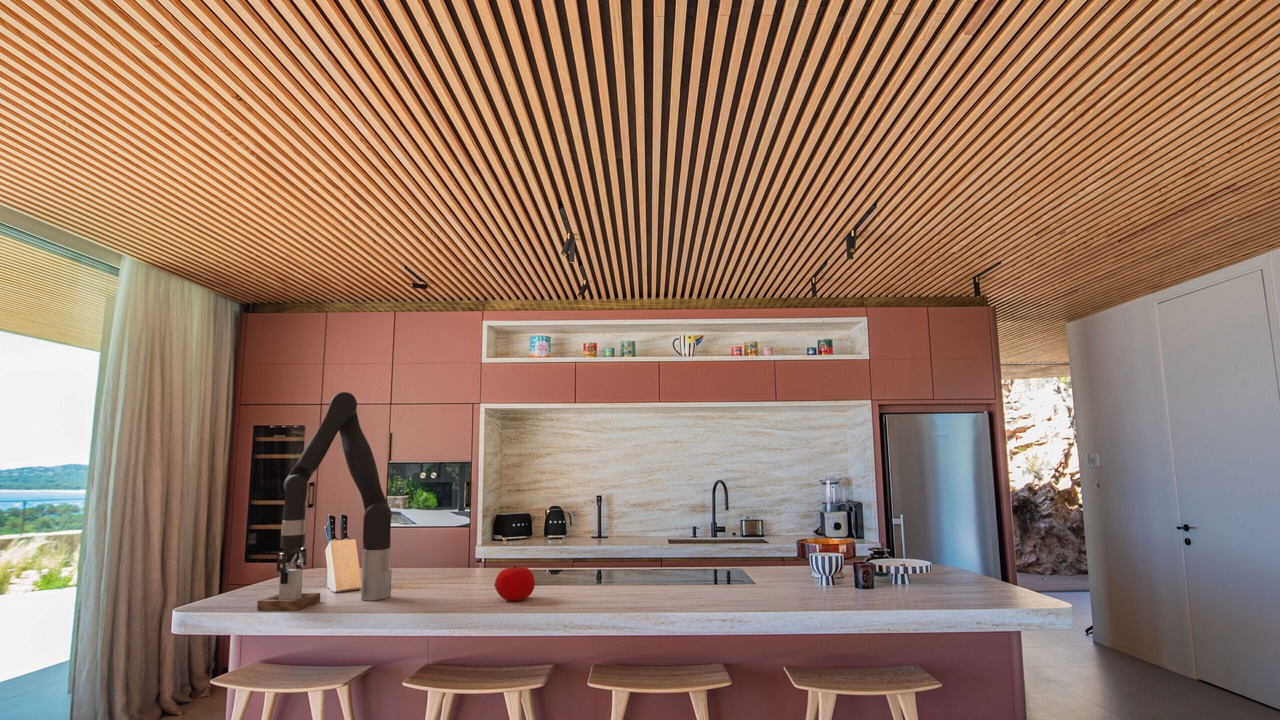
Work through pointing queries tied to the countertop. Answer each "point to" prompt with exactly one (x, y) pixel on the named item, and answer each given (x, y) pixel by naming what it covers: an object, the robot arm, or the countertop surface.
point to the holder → (288, 602)
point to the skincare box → (291, 586)
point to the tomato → (515, 583)
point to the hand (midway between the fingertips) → (291, 581)
